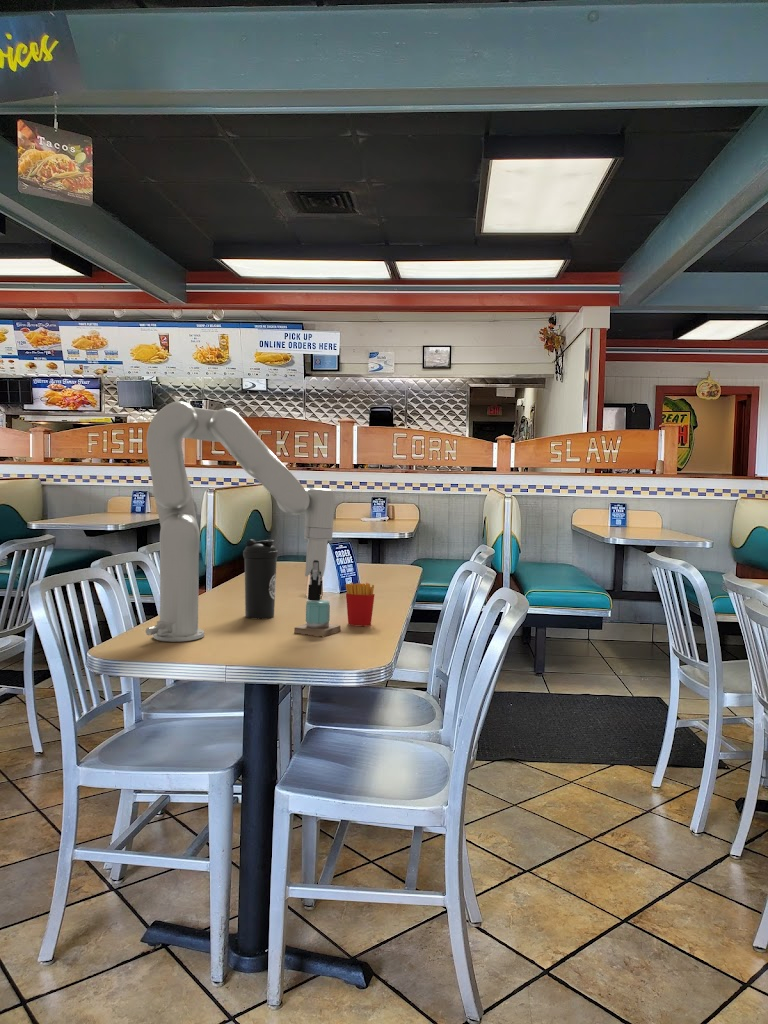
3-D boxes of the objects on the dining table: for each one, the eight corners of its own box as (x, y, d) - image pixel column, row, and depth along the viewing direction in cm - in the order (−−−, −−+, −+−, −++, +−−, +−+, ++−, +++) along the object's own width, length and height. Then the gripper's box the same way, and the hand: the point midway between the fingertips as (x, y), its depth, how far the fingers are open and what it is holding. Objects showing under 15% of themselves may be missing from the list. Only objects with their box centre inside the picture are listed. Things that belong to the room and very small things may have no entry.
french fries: (374, 623, 205) (375, 582, 204) (372, 626, 201) (373, 584, 201) (345, 622, 206) (346, 581, 206) (342, 624, 202) (343, 583, 202)
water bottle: (273, 619, 207) (275, 541, 206) (239, 619, 208) (240, 540, 207) (279, 613, 217) (280, 538, 217) (246, 612, 218) (247, 538, 217)
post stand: (322, 637, 186) (323, 610, 186) (294, 633, 190) (294, 607, 190) (340, 631, 194) (340, 605, 194) (312, 627, 198) (313, 602, 198)
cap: (302, 620, 193) (302, 601, 193) (322, 618, 196) (322, 599, 196) (312, 624, 188) (313, 604, 187) (333, 622, 191) (333, 602, 191)
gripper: (306, 531, 199) (302, 591, 200) (302, 535, 182) (298, 601, 183) (333, 532, 200) (329, 593, 200) (331, 537, 182) (327, 603, 183)
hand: (314, 597), depth 191 cm, fingers open, 9 cm apart
